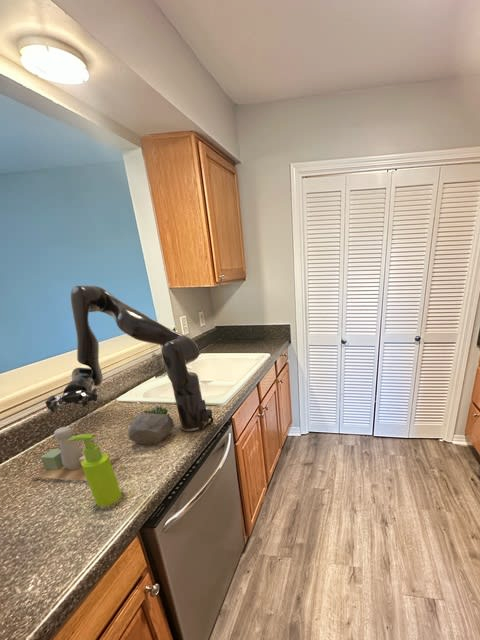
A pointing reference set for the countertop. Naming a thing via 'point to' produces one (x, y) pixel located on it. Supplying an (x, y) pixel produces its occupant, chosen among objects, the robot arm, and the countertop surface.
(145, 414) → the potted plant
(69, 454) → the salt shaker
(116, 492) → the soap dispenser
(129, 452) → the countertop surface
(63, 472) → the wood board
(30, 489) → the countertop surface
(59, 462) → the sage green cube
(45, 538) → the countertop surface
